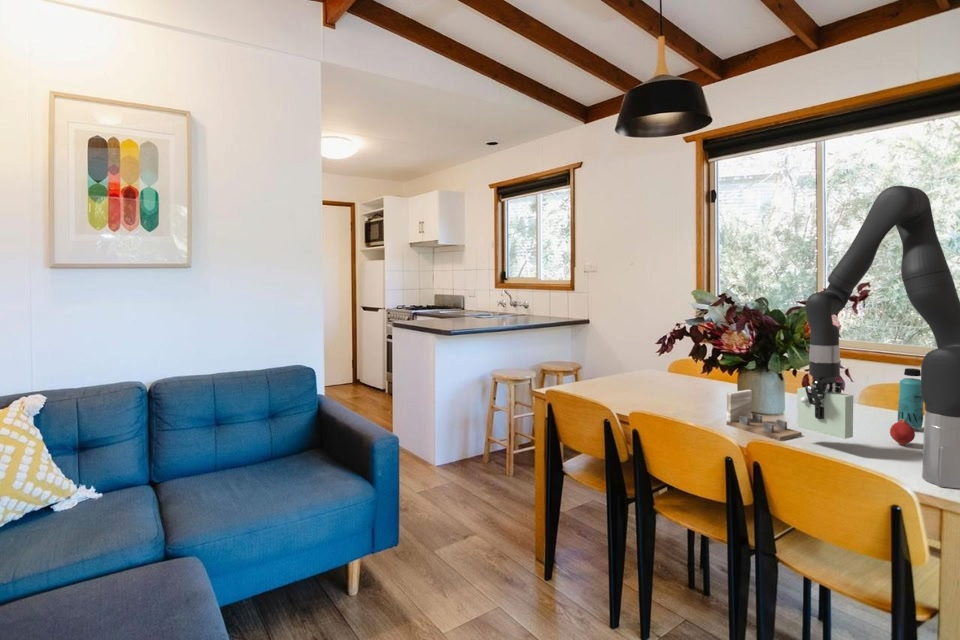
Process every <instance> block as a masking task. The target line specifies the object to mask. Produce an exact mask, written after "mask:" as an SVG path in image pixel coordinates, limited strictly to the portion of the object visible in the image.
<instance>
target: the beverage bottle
mask: <svg viewBox="0 0 960 640" xmlns="http://www.w3.org/2000/svg"><path fill="white" fill-rule="evenodd" d="M903 375H904V376H907V378H906V377H904V378H902V379H901V380H899V393H898V406H897V422H899V421H900V420H901V419H904V420H905V421H906V422H907V423H908V424H909V425H911V426H912V427H913V428H914V429H916V428H922V427H923V423H924V416H925V411H924V401H923V399H922V395H921V378H920V379H919V378H913V377H921V369H919V368H910V367H908V368H905V369H904V373H903ZM909 377H910V378H909ZM897 422H896V423H897Z"/></svg>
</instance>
